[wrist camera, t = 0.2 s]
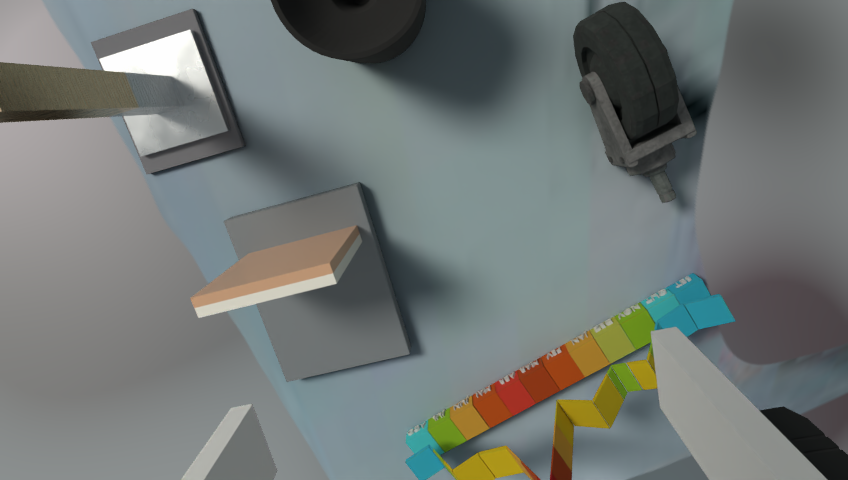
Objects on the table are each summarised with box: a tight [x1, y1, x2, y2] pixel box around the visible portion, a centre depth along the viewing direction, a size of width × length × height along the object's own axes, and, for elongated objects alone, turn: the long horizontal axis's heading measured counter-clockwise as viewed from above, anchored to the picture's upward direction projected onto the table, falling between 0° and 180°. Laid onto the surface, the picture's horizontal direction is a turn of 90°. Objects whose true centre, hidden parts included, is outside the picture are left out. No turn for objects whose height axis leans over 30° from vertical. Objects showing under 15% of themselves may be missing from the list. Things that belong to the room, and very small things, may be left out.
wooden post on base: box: [0, 30, 231, 156], centre depth 32 cm, size 8×8×18 cm
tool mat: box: [91, 9, 245, 174], centre depth 41 cm, size 11×9×1 cm
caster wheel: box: [573, 2, 697, 203], centre depth 35 cm, size 6×10×15 cm
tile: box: [190, 225, 362, 318], centre depth 38 cm, size 2×10×10 cm, turn 105°
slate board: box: [224, 182, 411, 382], centre depth 44 cm, size 16×12×2 cm
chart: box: [405, 273, 735, 480], centre depth 39 cm, size 30×3×15 cm, turn 124°
